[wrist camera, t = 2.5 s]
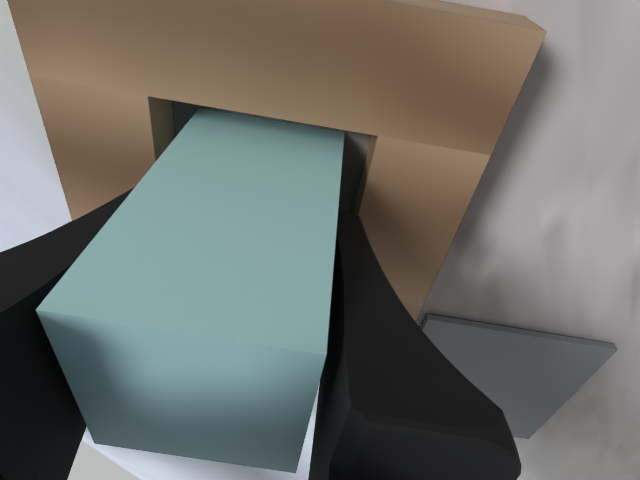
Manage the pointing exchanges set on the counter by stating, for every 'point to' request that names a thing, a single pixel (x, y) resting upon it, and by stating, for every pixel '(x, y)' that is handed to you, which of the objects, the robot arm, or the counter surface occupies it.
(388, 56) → the block
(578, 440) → the counter surface
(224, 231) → the peg
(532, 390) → the rubber mat
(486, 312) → the counter surface
